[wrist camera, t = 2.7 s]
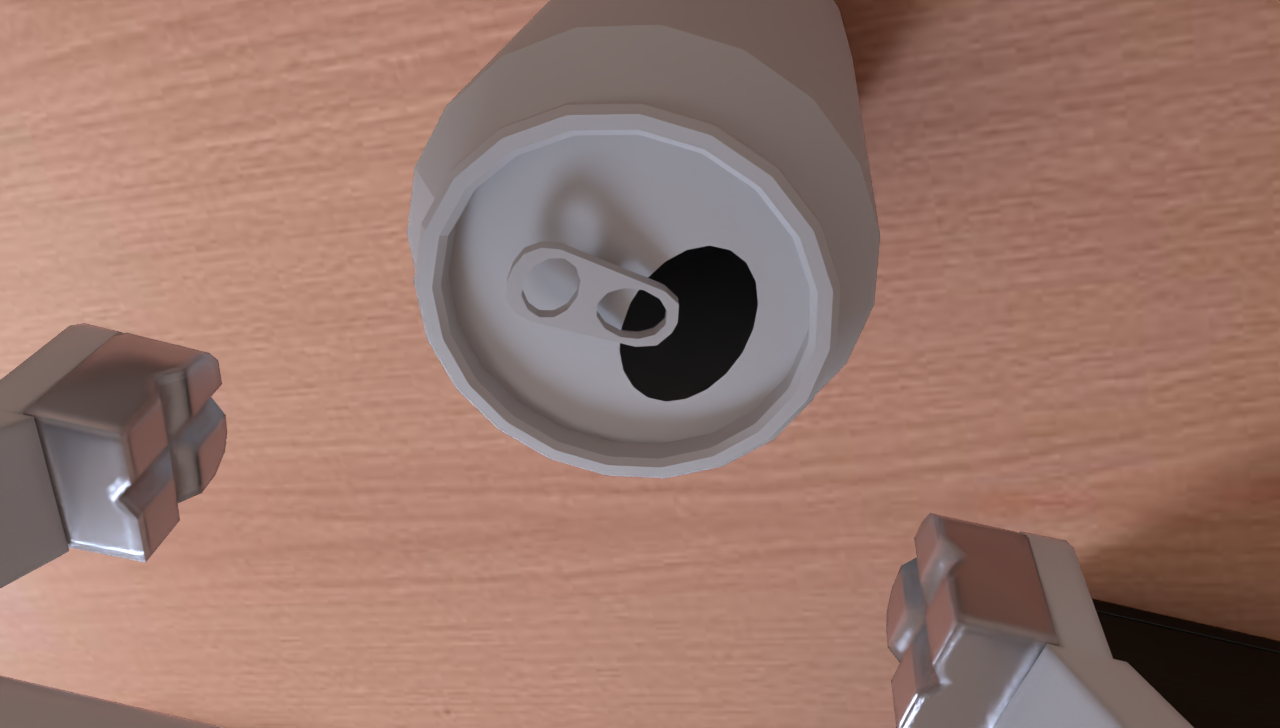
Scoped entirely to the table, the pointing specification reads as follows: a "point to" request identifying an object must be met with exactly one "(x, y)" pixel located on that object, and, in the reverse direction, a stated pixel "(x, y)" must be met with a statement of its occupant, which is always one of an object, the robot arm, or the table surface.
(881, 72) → the table surface
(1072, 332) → the table surface
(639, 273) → the can
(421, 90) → the table surface
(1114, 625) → the bin
